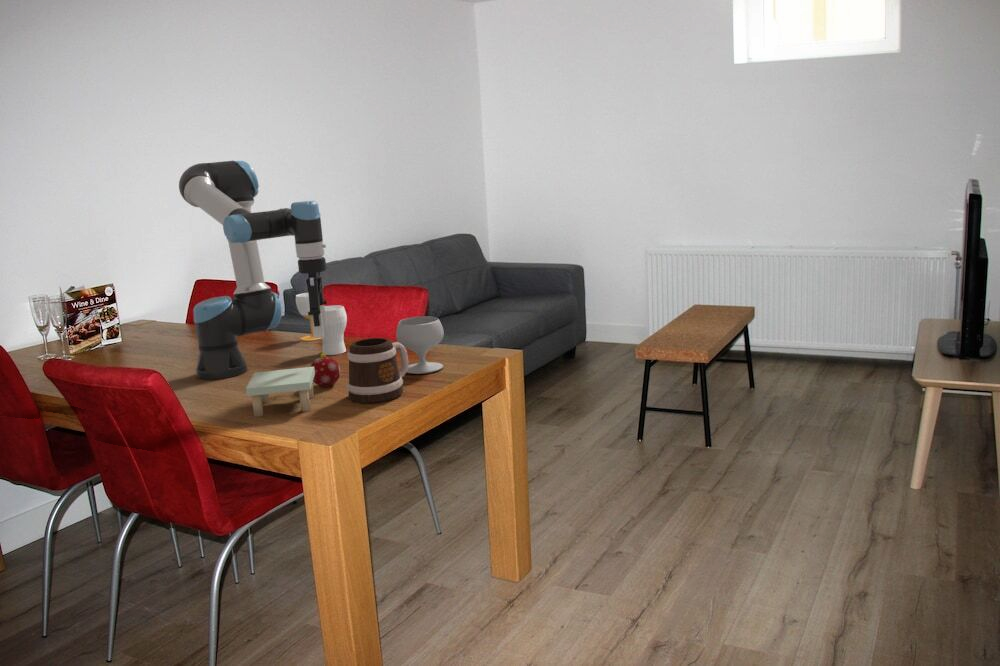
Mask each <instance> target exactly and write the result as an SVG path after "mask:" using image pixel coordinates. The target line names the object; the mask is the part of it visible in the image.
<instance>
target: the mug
mask: <svg viewBox="0 0 1000 666" xmlns="http://www.w3.org/2000/svg"><path fill="white" fill-rule="evenodd" d="M397 351H398V352H399V354H400V364H401V367H400V370H399V366H398V362H397V357H396V355H397ZM346 358H347V359H348V382H347V385H346V389H347V391H348V398H349V399H350V400H351V401H353V402H355V403H357V402H358V403H359V404H377V403H376V402H379V403H383V402H384V401H385V402H388V401H393V400H395V399H397V398H398V397H400V396H401V395H402V394H403V391H404V387H403V384H404V379H403V377H405V375H406V374H407V373H406V372H407V370H408V366H409V356H408V351H407V348H405V347H404V346H403V345H402V344H400V343H399V342H398V341H396V342H392V341H391V340H390V339H388V338H385V337H384V338H383V337H371V338H364V339H359V340H356V341H354V342H352V343H351V344H350V346H349V349H348V351H347V355H346Z"/></svg>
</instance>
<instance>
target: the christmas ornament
mask: <svg viewBox="0 0 1000 666" xmlns="http://www.w3.org/2000/svg"><path fill="white" fill-rule="evenodd" d="M323 353H324V354H323ZM310 367H314V369H315V375H314V379H313V382H312V383H314V384H316V385H317V386H319V387H325V388H326V387H331V386H332V385H334V384H335V383H336V382H337V381H338V380H339V379H340V375H341V367H340V365H339V363H338V361H336V359H335V358H332V357H330V356H328V355H325V352H323V351H321V352H320V357H318V358H316V359H314V361H313V362H312V363H311V364H310Z"/></svg>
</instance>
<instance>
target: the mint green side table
mask: <svg viewBox="0 0 1000 666" xmlns="http://www.w3.org/2000/svg"><path fill="white" fill-rule="evenodd" d="M314 375H315V369H314V367H311V366H307V367H306V366H305V367H297V368H287V369H277V370H275V369H274V370H269V371H256V372H254V373H253V374H252V377H251V378H250V380H249V382H248V384H247V385H246V388H245V393H246V394H245V395H246V397H251V403H252V412H253V416H254V418H255V417H256V418H259V417H263V416H264V407H263V404H268V403H269V402H270V395H271V394H283V393H291V392H298V395H299V402H300V404H299V405H300V411H301V412H303V413H305V412H310V411H311V402H310V399H312V398H314V397H315V394H314V393H315V392H314V385H313V383H314V382H313V379H314ZM262 415H263V416H262Z"/></svg>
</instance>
